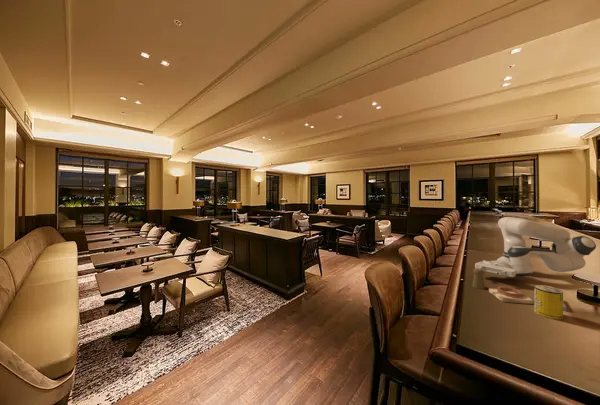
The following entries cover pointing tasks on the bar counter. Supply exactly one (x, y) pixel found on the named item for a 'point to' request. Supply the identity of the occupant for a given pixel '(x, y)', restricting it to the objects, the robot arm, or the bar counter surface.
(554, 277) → the bar counter surface
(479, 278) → the cork
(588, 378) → the bar counter surface
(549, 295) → the yellow can
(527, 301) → the square base with ring
